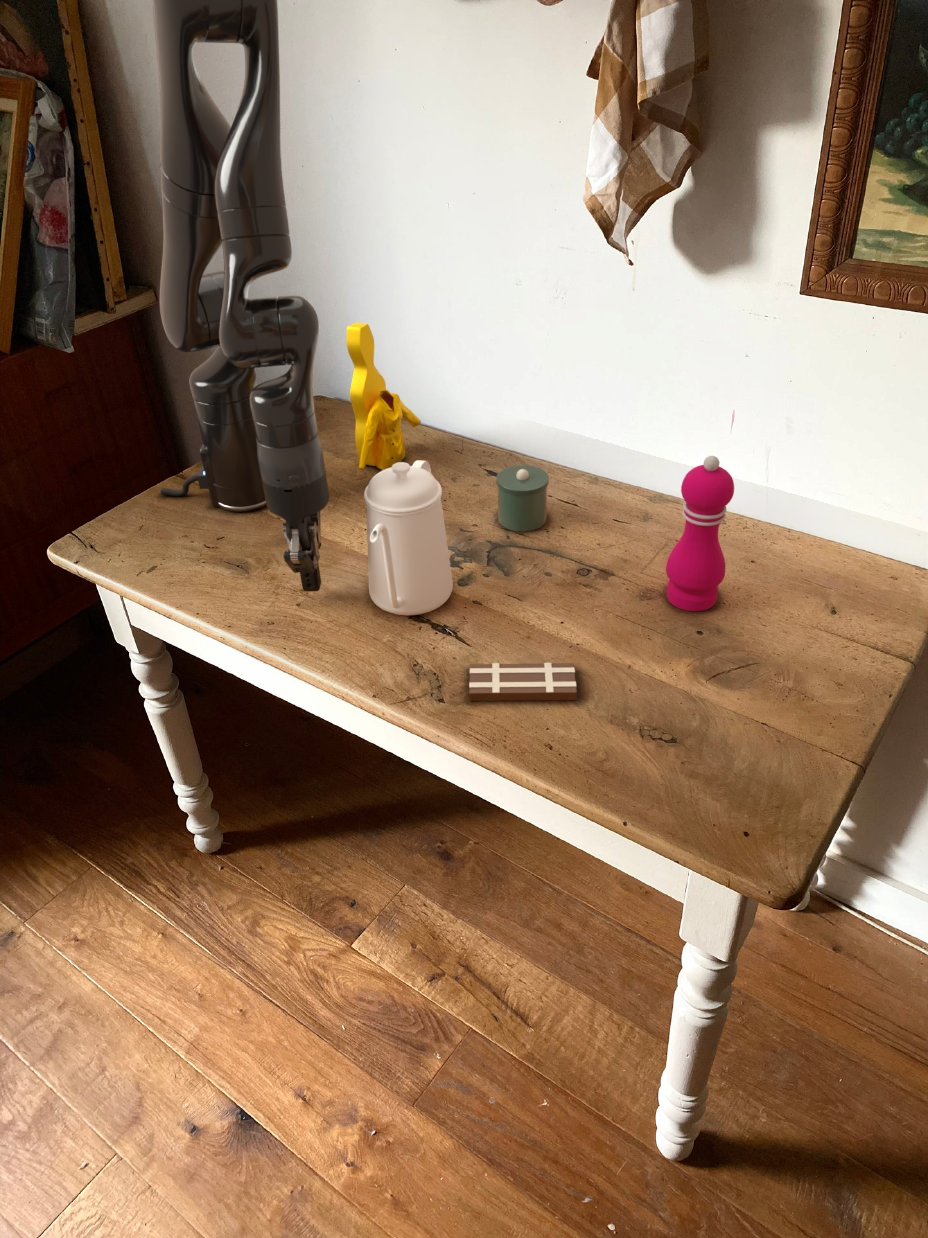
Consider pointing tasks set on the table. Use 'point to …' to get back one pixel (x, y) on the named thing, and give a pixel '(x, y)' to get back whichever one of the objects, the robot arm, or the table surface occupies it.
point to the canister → (522, 497)
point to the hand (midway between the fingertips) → (312, 588)
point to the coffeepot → (407, 540)
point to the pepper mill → (700, 538)
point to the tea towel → (522, 682)
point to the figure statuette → (374, 405)
